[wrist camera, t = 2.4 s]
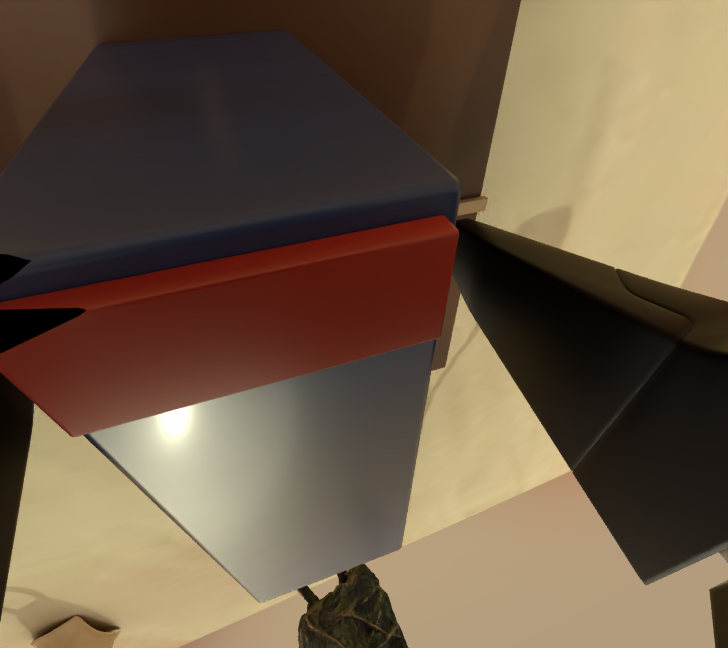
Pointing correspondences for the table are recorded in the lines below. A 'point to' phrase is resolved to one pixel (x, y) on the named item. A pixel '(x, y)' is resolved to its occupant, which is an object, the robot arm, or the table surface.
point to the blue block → (232, 294)
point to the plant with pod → (350, 615)
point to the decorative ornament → (76, 636)
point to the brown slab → (323, 37)
